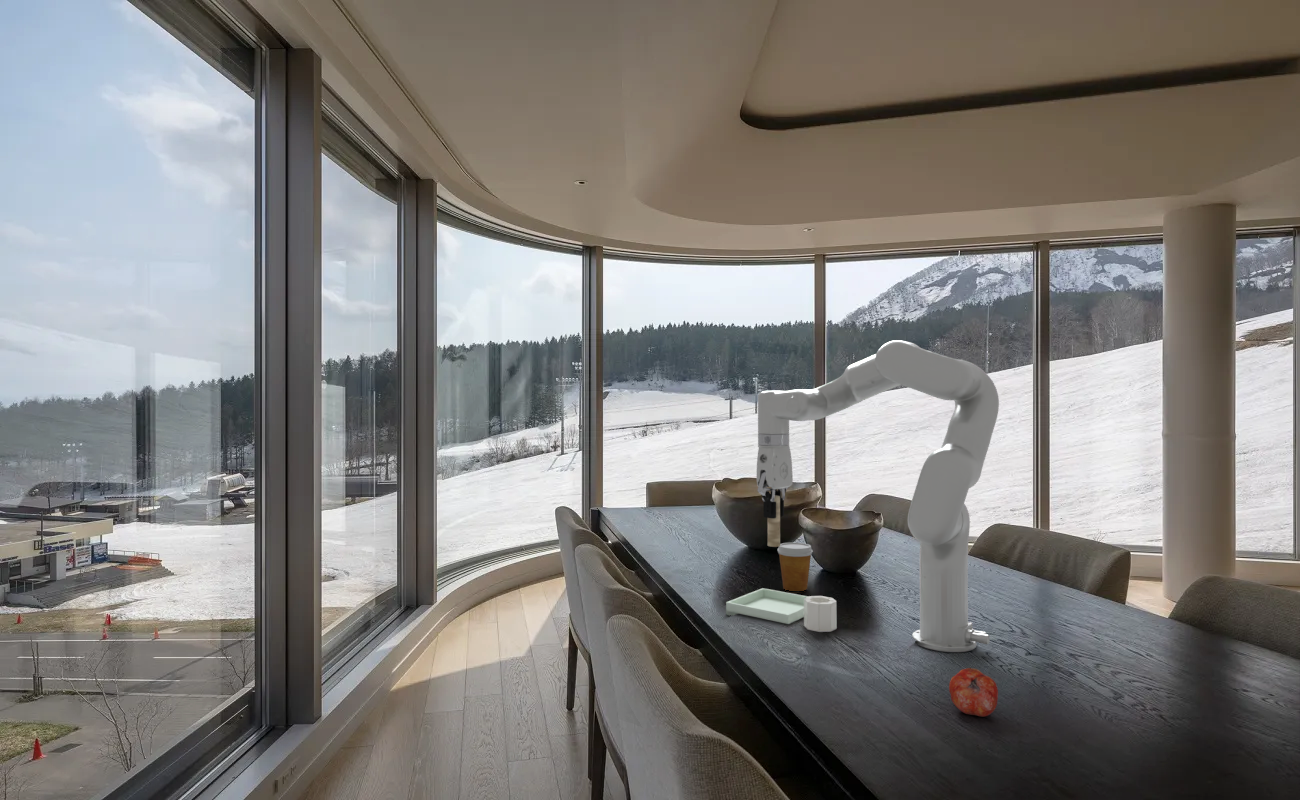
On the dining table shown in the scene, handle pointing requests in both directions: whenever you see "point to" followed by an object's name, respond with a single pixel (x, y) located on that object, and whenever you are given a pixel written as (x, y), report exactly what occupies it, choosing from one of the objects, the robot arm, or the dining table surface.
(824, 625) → the cup holder
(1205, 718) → the dining table surface
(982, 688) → the red tomato
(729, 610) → the tray
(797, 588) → the disposable coffee cup
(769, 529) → the wooden pin
